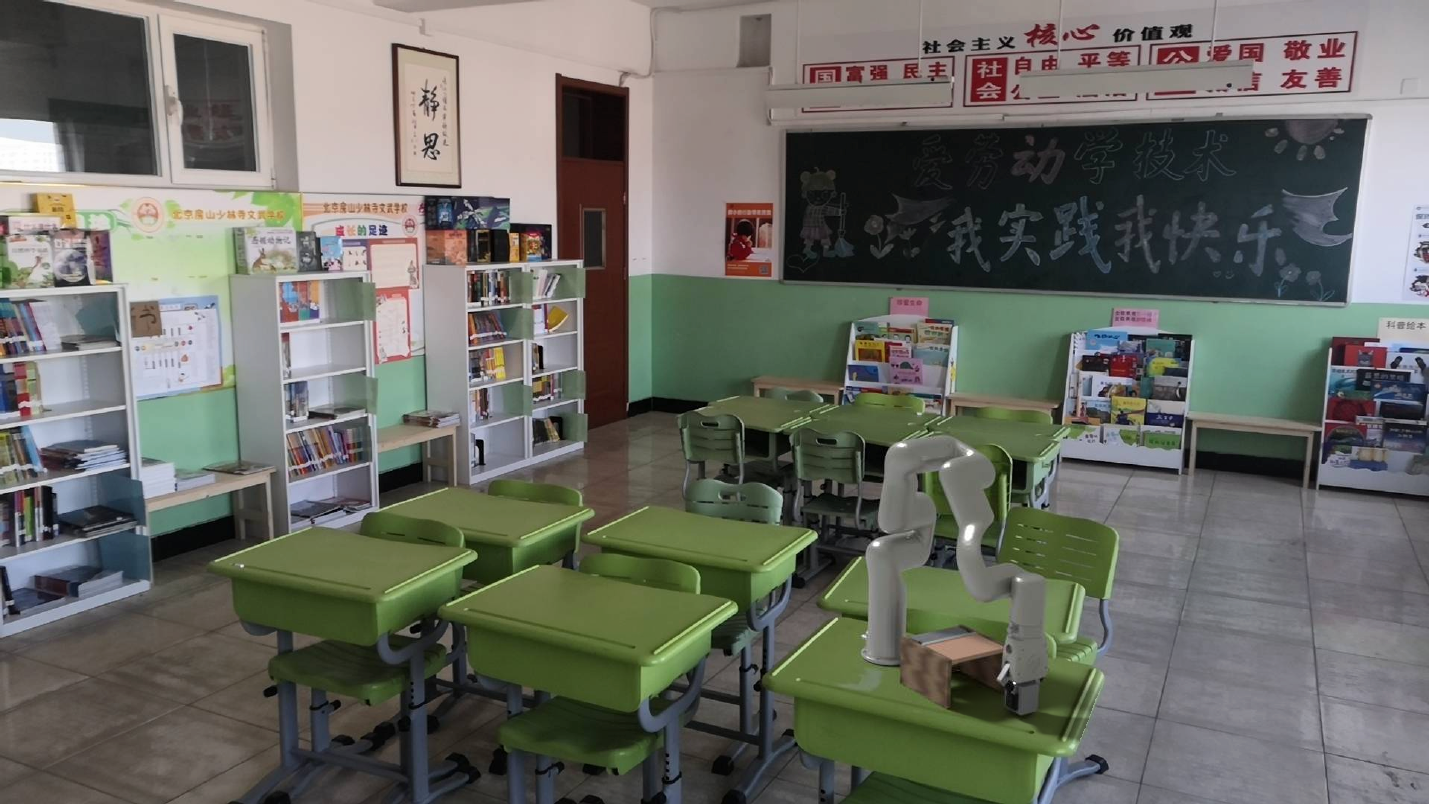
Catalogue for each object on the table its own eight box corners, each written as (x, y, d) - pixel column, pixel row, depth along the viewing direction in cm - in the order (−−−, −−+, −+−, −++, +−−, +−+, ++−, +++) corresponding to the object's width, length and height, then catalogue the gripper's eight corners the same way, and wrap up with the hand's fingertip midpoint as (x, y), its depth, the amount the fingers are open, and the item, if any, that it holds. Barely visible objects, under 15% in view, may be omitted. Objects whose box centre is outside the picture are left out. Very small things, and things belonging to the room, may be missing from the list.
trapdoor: (906, 650, 253) (907, 635, 252) (958, 639, 260) (958, 624, 260) (952, 674, 238) (953, 658, 238) (1005, 661, 246) (1006, 645, 245)
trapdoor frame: (899, 683, 254) (901, 637, 252) (960, 668, 262) (961, 624, 261) (946, 709, 239) (948, 660, 237) (1008, 693, 248) (1010, 646, 246)
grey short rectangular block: (1004, 706, 238) (1006, 679, 237) (1021, 702, 240) (1022, 675, 239) (1020, 715, 233) (1022, 687, 232) (1037, 710, 236) (1039, 683, 235)
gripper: (1009, 641, 227) (1004, 720, 229) (1066, 628, 235) (1061, 705, 237) (985, 629, 233) (980, 706, 236) (1041, 617, 241) (1036, 692, 244)
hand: (1021, 705), depth 237 cm, fingers closed on grey short rectangular block, 5 cm apart
